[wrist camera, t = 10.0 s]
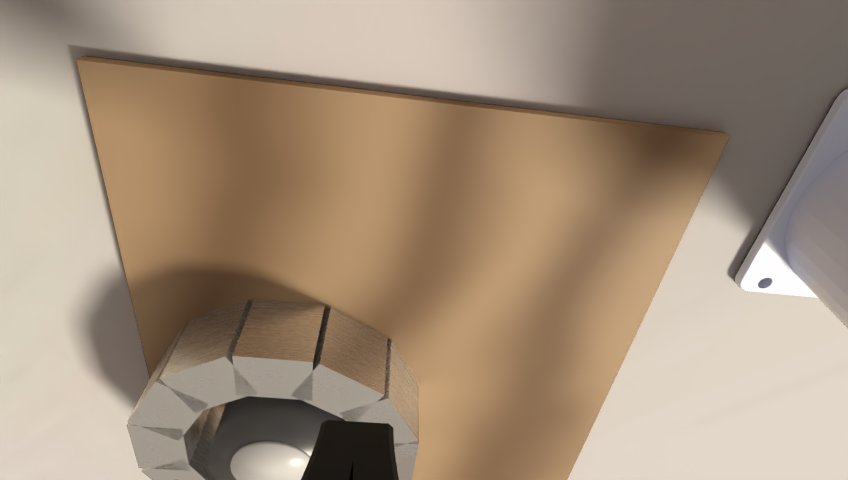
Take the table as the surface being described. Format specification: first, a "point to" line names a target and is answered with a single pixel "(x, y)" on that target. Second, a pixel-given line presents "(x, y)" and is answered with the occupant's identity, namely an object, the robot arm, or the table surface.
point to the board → (405, 237)
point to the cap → (265, 439)
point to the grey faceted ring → (269, 380)
